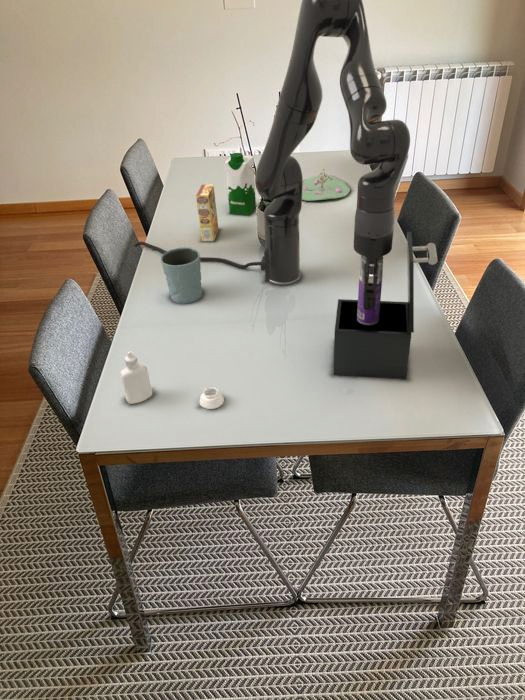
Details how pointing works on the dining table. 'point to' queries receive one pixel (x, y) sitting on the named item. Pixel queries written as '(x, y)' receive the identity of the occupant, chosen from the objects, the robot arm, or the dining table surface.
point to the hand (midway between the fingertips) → (368, 302)
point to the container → (363, 315)
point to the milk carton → (240, 184)
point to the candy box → (207, 212)
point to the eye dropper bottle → (135, 380)
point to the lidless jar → (211, 398)
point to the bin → (372, 341)
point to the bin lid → (410, 272)
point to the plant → (323, 188)
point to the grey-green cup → (183, 274)
